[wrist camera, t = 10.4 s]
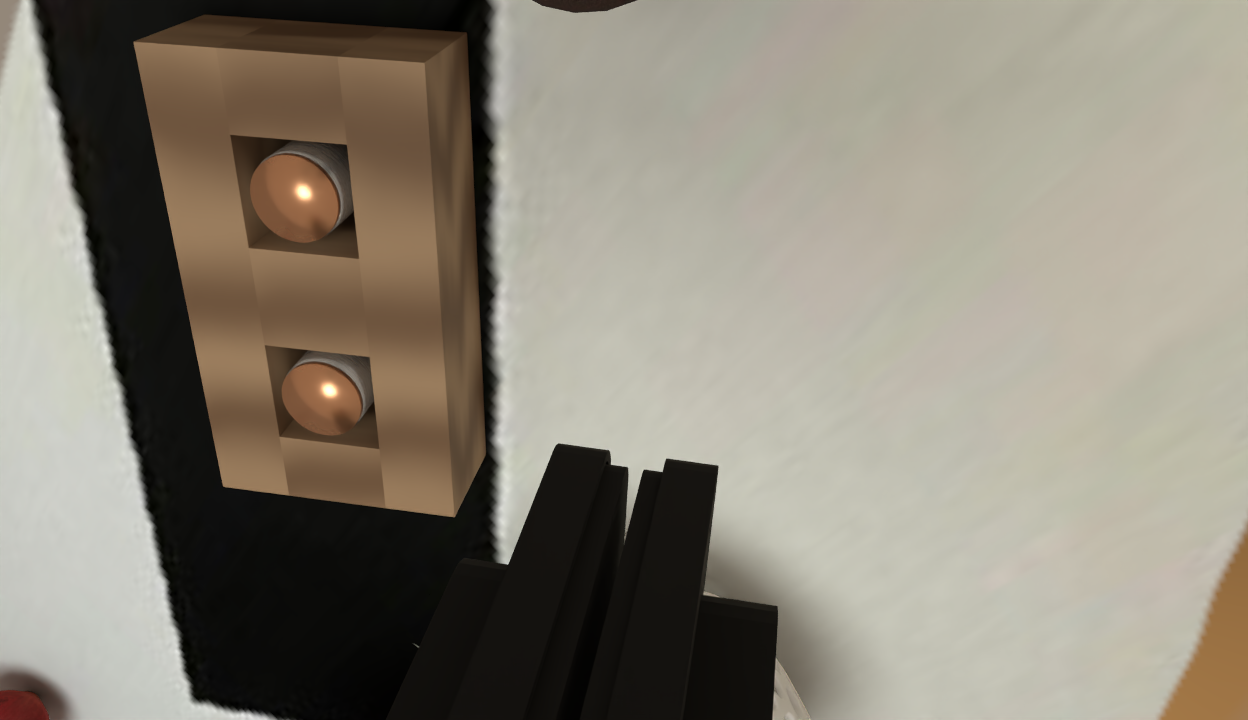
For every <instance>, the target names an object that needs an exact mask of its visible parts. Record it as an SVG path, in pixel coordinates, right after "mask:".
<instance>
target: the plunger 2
mask: <svg viewBox="0 0 1248 720" xmlns="http://www.w3.org/2000/svg"><path fill="white" fill-rule="evenodd" d="M282 398H283V402H284V405H285V407H286V409H287V411H288V412H289V414H290V415H291V416H292V417H293V418H294V419H295V420H296V421H297V422H298V423H299V424H300V425H301V426H303V427H305V428H306V429H308V430H310V431H312V432H315V433H318V434H321V435H329V436H332V435H340V434H343V433H345V432H347V431H349V430H350V429H352V428H353V427H354V426H355V425H356V424H357V423H358V422H359V421H360V420H361V418H362V417H363V415H364V414H365V413H366V411H367V410H368V409H369V407H370V406H371V404H372V403H373V402H374V393H373V384H372V375H371V365H370V357H365V356H357V355H348V354H339V353H330V352H321V351H312V350H308V351H307V352H306V353H305V354H304V355H303V356H302V357H301V359H300V360H299V361H298V362H297V363H296V364H295V365H294V366H293V367H292V369H291V370H290V371H289V372H288V374H287V375H286V378H285V379H284V382H283V385H282Z"/></svg>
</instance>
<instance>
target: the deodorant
mask: <svg viewBox="0 0 1248 720" xmlns="http://www.w3.org/2000/svg"><path fill="white" fill-rule="evenodd" d="M533 1H535V2H537V3H538V4H540V5H542V6H546V7H550V8H555V9H560V10H564V11H569V12H574V13H578V12H596V11H608V10H610V9H613V8H616V7H619V6H622V5H625V4H628V3H631V2H633V1H636V0H533Z"/></svg>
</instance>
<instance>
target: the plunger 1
mask: <svg viewBox="0 0 1248 720" xmlns="http://www.w3.org/2000/svg"><path fill="white" fill-rule="evenodd" d="M250 195H251V200H252V204H253V207H254V209H255V211H256V213H257V215H258V216H259V218H260V219H261V220H262V222H263V223H264V224H265V225H266V226H267V227H268V228H269V229H270V230H271V231H273V232H274V233H276V234H277V235H279V236H280V237H282V238H285V239H287V240H290V241H293V242H299V243H307V242H313V241H316V240H319V239H321V238H323V237H325V236H327V235H328V234H330V233H331V232H332V231H333V230H334V229H335V228H336V227H337V226H338V225H340V224H341V223H342V222H343V221H344V220H345V219H346V218H347V217H348V216H349V215H350V214H351V213H353V212H354V206H353V197H352V187H351V178H350V169H349V159H348V150H347V145H346V144H334V143H322V142H310V141H298V140H292V141H291V142H289V143H288V144H286V145H285V146H283V147H282V148H280V149H279V150H277V151H276V152H274V153H273V154H272V155H270V156H269V157H267V158H266V159H264V160H263V161H262V162H261V163H260V165H259V166H258V167H257V169H256V170H255V172H254V174H253V176H252V179H251V184H250Z"/></svg>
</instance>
